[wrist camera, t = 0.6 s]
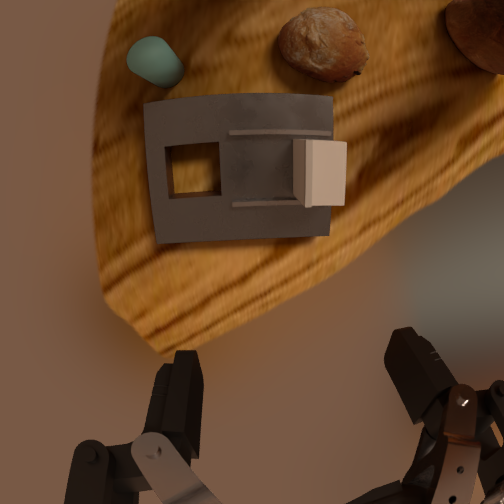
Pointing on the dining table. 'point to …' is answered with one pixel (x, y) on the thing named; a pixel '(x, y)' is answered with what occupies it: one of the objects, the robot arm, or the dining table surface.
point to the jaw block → (319, 172)
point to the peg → (155, 62)
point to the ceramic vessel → (478, 31)
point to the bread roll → (324, 44)
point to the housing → (236, 165)
